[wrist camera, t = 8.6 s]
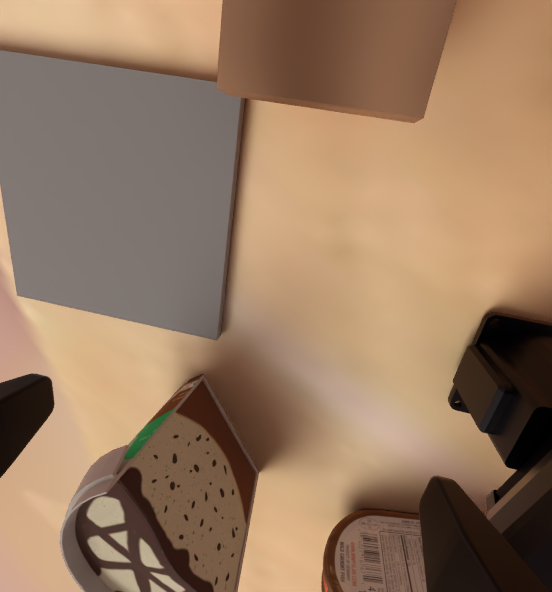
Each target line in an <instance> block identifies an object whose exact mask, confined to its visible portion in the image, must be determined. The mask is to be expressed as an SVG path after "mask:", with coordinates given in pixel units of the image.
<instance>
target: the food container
mask: <svg viewBox="0 0 552 592" xmlns="http://www.w3.org/2000/svg"><path fill="white" fill-rule="evenodd" d="M258 475H259V472H258V470H257V468H256V467H255V465H254V463H253V461H252V460H251V458H250V456H249V454H248V452H247V451H246V449H245V447H244V445H243V444H242V442H241V440H240V438H239V436H238V435H237V433H236V431H235V429H234V427H233V426H232V424H231V422H230V420H229V419H228V417H227V415H226V413H225V411H224V410H223V408H222V406H221V404H220V403H219V401H218V399H217V397H216V395H215V394H214V392H213V390H212V388H211V386H210V385H209V383H208V381H207V379H206V378H205V376H204V374H202V375H200V376H197V377H195V378H193V379H190V380H189V381H188V382H187V383H186V384H185V385H183V386H182V387H181V388H180V389H179V390H178V391H177V392H176V393H175V394H174V395H173V396H172V397H171V398H170V399H169V400H168V402H167V403H166V404H165V405H164V406H163V407H162V408H161V409H160V410H159V411H158V413H157V414H156V415H155V416H154V417H153V418H152V419H151V420H150V421H149V422H148V424H147V425H146V426H145V427H144V428H143V429H142V430H141V431H140V432H139V433H138V435H137V436H136V437H135V438H134V439H133V440H132V441H131V442H130V443H129V444H128V445H126V446H123V447H120V448H117V449H114V450H112V451H110V452H109V453H107V454H105V455H104V456H102V457H100V458H99V459H98V460H97V461H96V462H95V463H94V464H93V465H92V466H91V467H90V469H89V470H88V472H87V473H86V475H85V476H84V478H83V480H82V482H81V484H80V486H79V487H78V489H77V491H76V493H75V495H74V497H73V498H72V500H71V502H70V504H69V507H68V510H67V513H66V516H65V520H64V523H63V526H62V529H61V533H60V546H61V552H62V556H63V559H64V561H65V564H66V567H67V568H68V570H69V572H70V574H71V575H72V577H73V579H74V580H75V581H76V583H77V584H78V585H79V586H80V588H81V589H82V590H83V591H84V592H237V591H238V585H239V580H240V574H241V569H242V563H243V558H244V552H245V547H246V541H247V536H248V530H249V525H250V519H251V514H252V508H253V503H254V497H255V491H256V486H257V480H258Z"/></svg>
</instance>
